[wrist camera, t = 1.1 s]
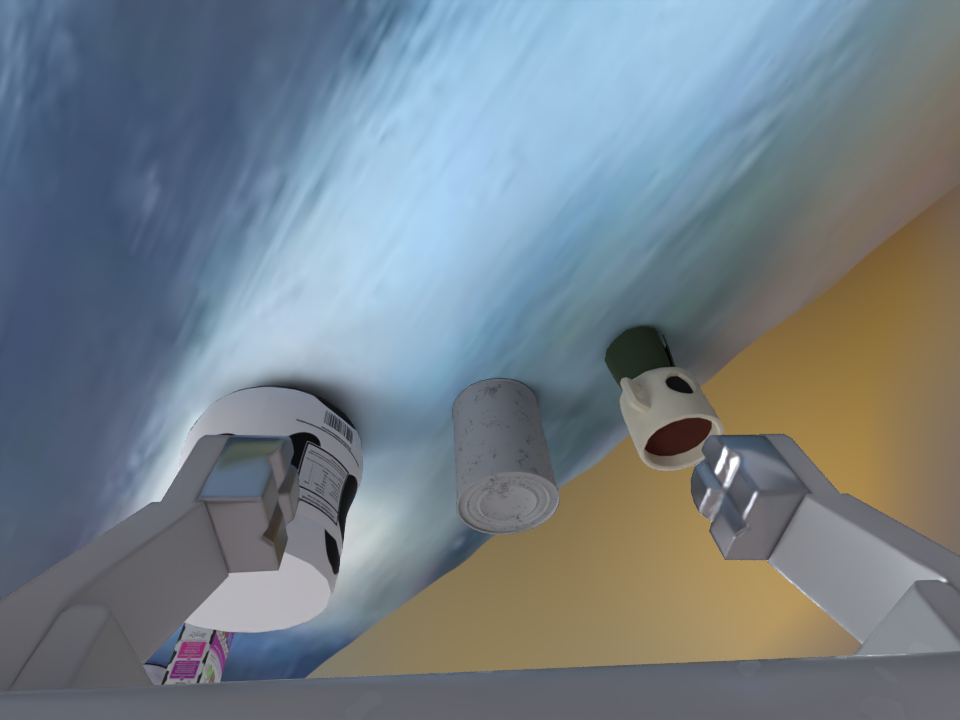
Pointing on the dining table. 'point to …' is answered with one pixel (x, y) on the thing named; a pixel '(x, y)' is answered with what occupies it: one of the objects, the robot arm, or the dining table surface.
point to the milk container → (319, 517)
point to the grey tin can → (502, 459)
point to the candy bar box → (198, 656)
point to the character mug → (660, 401)
